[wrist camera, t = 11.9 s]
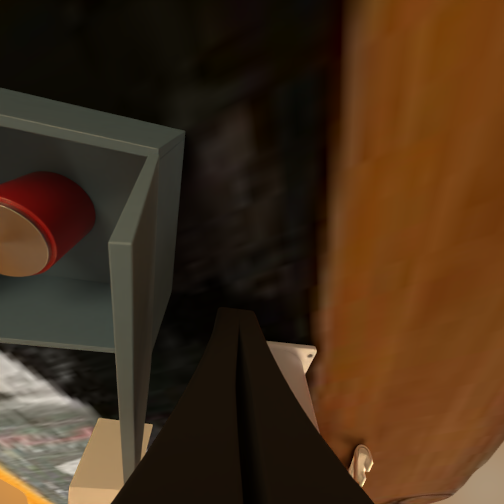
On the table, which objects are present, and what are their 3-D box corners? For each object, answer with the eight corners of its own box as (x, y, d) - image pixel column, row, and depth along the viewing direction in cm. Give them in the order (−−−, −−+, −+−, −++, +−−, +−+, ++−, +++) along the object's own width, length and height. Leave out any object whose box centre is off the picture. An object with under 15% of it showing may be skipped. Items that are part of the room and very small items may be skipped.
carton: (185, 131, 14) (158, 148, 9) (171, 291, 20) (150, 356, 15) (-76, 69, 12) (-292, 50, 7) (-8, 268, 18) (-101, 333, 13)
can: (98, 243, 17) (59, 285, 13) (25, 232, 16) (-39, 273, 13) (93, 179, 15) (44, 207, 11) (8, 163, 14) (-75, 187, 10)
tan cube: (98, 417, 29) (69, 486, 24) (153, 423, 30) (136, 490, 25) (94, 442, 32) (67, 509, 26) (144, 447, 33) (127, 512, 28)
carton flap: (148, 152, 9) (159, 154, 9) (144, 366, 14) (150, 365, 15) (107, 241, 4) (133, 244, 4) (125, 511, 10) (135, 509, 10)
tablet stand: (357, 468, 40) (383, 548, 33) (308, 473, 40) (324, 554, 33) (367, 443, 36) (399, 528, 29) (311, 448, 36) (330, 535, 29)
